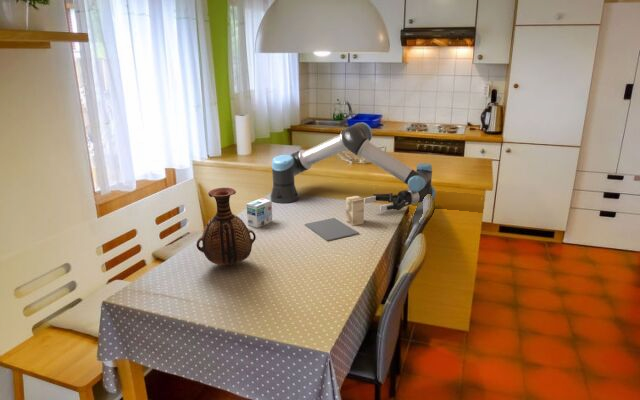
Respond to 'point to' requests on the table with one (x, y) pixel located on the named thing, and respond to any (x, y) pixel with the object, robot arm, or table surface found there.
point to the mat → (331, 229)
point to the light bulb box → (259, 212)
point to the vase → (225, 233)
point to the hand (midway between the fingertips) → (372, 204)
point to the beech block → (354, 210)
